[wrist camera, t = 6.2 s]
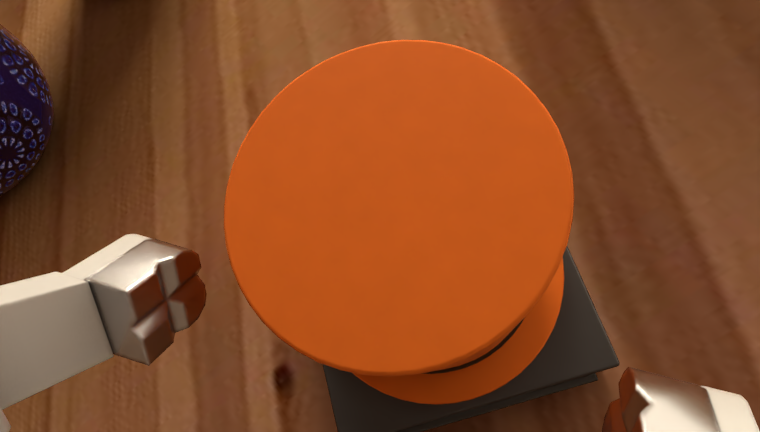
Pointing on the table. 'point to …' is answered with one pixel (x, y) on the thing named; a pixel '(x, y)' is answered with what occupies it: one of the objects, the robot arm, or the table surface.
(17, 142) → the planter
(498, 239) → the hat
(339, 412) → the grey square pedestal
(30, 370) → the robot arm
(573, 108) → the table surface
